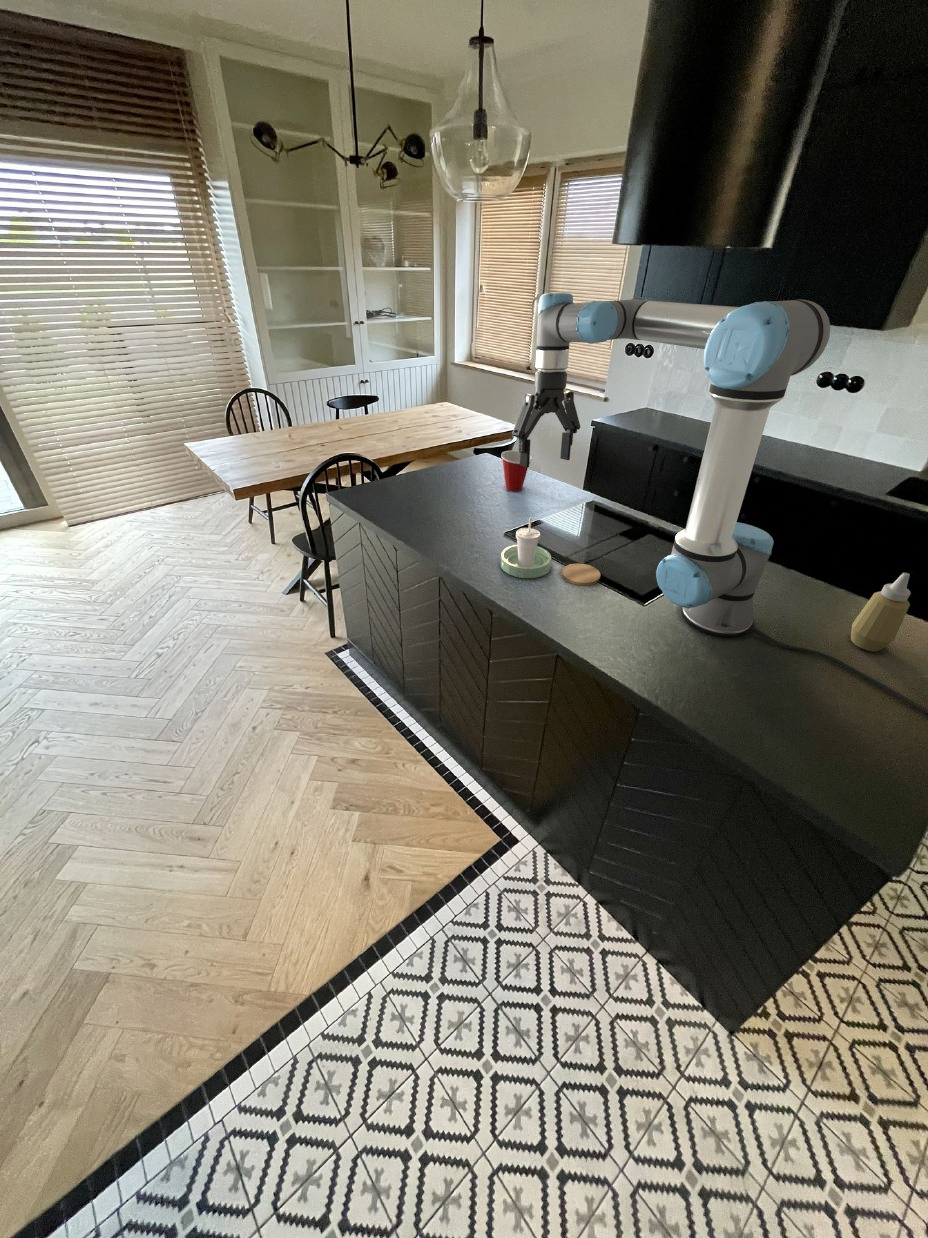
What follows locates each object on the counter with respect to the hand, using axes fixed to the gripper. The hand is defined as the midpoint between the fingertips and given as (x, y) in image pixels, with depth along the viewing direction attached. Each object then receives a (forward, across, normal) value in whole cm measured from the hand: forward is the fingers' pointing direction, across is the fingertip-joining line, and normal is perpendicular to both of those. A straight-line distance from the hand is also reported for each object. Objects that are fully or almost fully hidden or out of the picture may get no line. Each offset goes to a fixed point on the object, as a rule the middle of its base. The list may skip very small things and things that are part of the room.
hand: (545, 462), depth 134 cm
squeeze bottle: (+32, -36, +68) cm, 84 cm away
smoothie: (+27, +6, +1) cm, 27 cm away
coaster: (+28, -4, +13) cm, 31 cm away
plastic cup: (+20, -26, -44) cm, 55 cm away
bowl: (+27, +6, +1) cm, 27 cm away
